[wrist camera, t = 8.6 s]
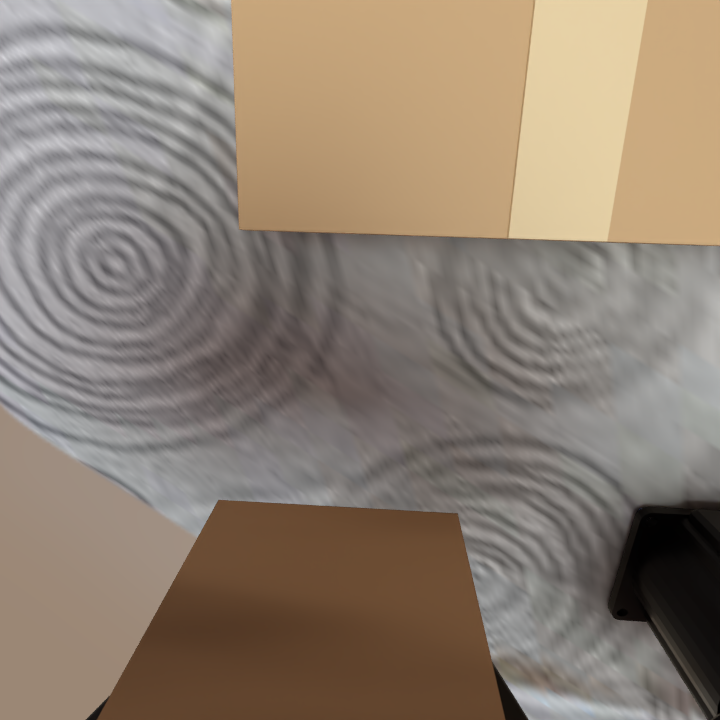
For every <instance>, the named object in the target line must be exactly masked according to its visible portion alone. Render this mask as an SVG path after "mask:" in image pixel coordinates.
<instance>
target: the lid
mask: <svg viewBox="0 0 720 720" xmlns="http://www.w3.org/2000/svg"><path fill="white" fill-rule="evenodd" d="M231 6H232V36H233V65H234V94H235V124H236V153H237V182H238V212H239V229H240V230H251V231H281V232H311V233H341V234H371V235H401V236H432V237H462V238H492V239H522V240H552V241H582V242H612V243H642V244H673V245H703V246H720V0H231Z"/></svg>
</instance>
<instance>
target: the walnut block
mask: <svg viewBox="0 0 720 720" xmlns="http://www.w3.org/2000/svg"><path fill="white" fill-rule="evenodd" d="M97 720H505V716H504V712H503V707H502V703H501V699H500V695H499V690H498V686H497V682H496V677H495V673H494V669H493V664H492V660H491V656H490V651H489V647H488V643H487V638H486V634H485V630H484V625H483V621H482V617H481V613H480V608H479V604H478V600H477V595H476V591H475V587H474V582H473V578H472V574H471V569H470V565H469V561H468V556H467V552H466V548H465V544H464V539H463V535H462V531H461V526H460V522H459V518H458V514H457V513H440V512H422V511H404V510H387V509H369V508H351V507H334V506H316V505H298V504H281V503H263V502H246V501H228V500H218V502H217V504H216V506H215V507H214V509H213V511H212V513H211V515H210V516H209V518H208V520H207V522H206V524H205V525H204V527H203V529H202V531H201V533H200V534H199V536H198V538H197V540H196V542H195V543H194V545H193V547H192V549H191V551H190V553H189V554H188V556H187V558H186V560H185V562H184V563H183V565H182V567H181V569H180V571H179V572H178V574H177V576H176V578H175V580H174V581H173V583H172V585H171V587H170V589H169V590H168V592H167V594H166V596H165V598H164V600H163V601H162V603H161V605H160V607H159V609H158V610H157V612H156V614H155V616H154V617H153V619H152V621H151V623H150V625H149V627H148V628H147V630H146V632H145V634H144V636H143V637H142V639H141V641H140V643H139V645H138V646H137V648H136V650H135V652H134V654H133V656H132V657H131V659H130V661H129V663H128V664H127V666H126V668H125V670H124V672H123V673H122V675H121V677H120V679H119V681H118V683H117V684H116V686H115V688H114V690H113V692H112V694H111V695H110V697H109V699H108V701H107V702H106V704H105V706H104V708H103V710H102V711H101V713H100V715H99V717H98V719H97Z"/></svg>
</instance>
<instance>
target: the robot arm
mask: <svg viewBox="0 0 720 720" xmlns="http://www.w3.org/2000/svg"><path fill="white" fill-rule="evenodd" d="M651 517H652V518H651ZM649 518H651V519H649ZM647 519H649V520H647ZM608 609H609V610H610V612H611V614H612V616H613V617H614V618H615V619H618V620H626V621H641V622H647V623H648V625H649V626H650V628H651V629H652V631H653V633H654V634H655V636H656V638H657V639H658V641H659V642H660V644H661V646H662V647H663V649H664V650H665V652H666V654H667V655H668V657H669V658H670V660H671V662H672V663H673V665H674V667H675V668H676V670H677V671H678V673H679V675H680V676H681V678H682V679H683V681H684V683H685V684H686V686H687V688H688V689H689V691H690V692H691V694H692V696H693V697H694V699H695V700H696V702H697V704H698V705H699V707H700V708H701V710H702V712H703V713H704V715H705V717H706V718H707V720H720V511H719V510H702V509H698V510H694V509H677V508H660V507H644V508H642V509H640V510H639V511H638V512H637V513H636V515H635V518H634V521H633V524H632V528H631V531H630V534H629V538H628V541H627V544H626V548H625V551H624V554H623V557H622V561H621V564H620V567H619V571H618V574H617V577H616V581H615V584H614V587H613V590H612V594H611V597H610V600H609V604H608ZM492 664H493V662H492ZM493 669H494V673H495V677H496V682H497V686H498V690H499V695H500V699H501V703H502V707H503V712H504V716H505V720H528V718H527V716H526V715H525V713H524V712H523V710H522V708H521V707H520V705H519V704H518V702H517V700H516V699H515V697H514V696H513V694H512V692H511V691H510V689H509V688H508V686H507V685H506V683H505V681H504V680H503V678H502V677H501V675H500V673H499V672H498V670H497V669H496V667H495V665H494V664H493ZM109 697H110V696H109ZM109 697H108V698H107V699H106V700H105V701H104V702H103V703H102V704H101V705H100V706H99V707H98V708H97V709H96V710H95V711H94V712H93V713H92V714H91V715H90V716H89V717H88V718H87V719H86V720H97V719H98V717H99V715H100V713H101V711H102V710H103V708H104V706H105V704H106V702H107V701H108V699H109Z"/></svg>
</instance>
